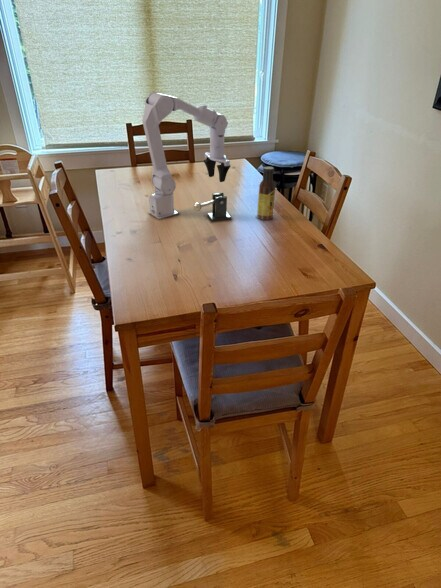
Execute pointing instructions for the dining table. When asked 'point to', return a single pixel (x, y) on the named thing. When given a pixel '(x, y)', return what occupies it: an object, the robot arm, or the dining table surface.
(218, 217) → the dark grey lever bracket
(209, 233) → the dining table surface
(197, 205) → the tap lever
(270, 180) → the sauce bottle
